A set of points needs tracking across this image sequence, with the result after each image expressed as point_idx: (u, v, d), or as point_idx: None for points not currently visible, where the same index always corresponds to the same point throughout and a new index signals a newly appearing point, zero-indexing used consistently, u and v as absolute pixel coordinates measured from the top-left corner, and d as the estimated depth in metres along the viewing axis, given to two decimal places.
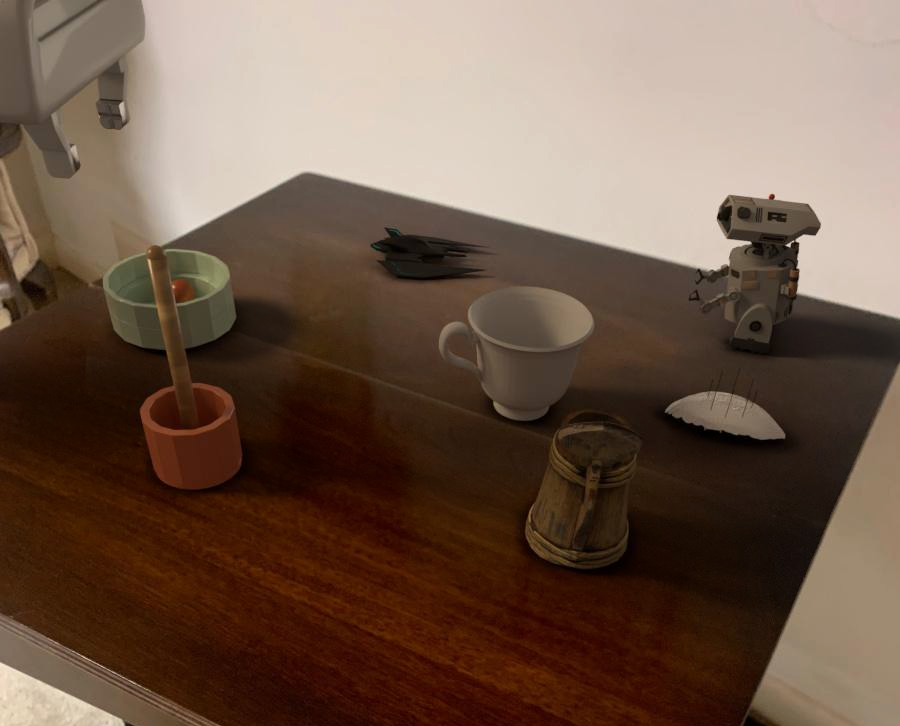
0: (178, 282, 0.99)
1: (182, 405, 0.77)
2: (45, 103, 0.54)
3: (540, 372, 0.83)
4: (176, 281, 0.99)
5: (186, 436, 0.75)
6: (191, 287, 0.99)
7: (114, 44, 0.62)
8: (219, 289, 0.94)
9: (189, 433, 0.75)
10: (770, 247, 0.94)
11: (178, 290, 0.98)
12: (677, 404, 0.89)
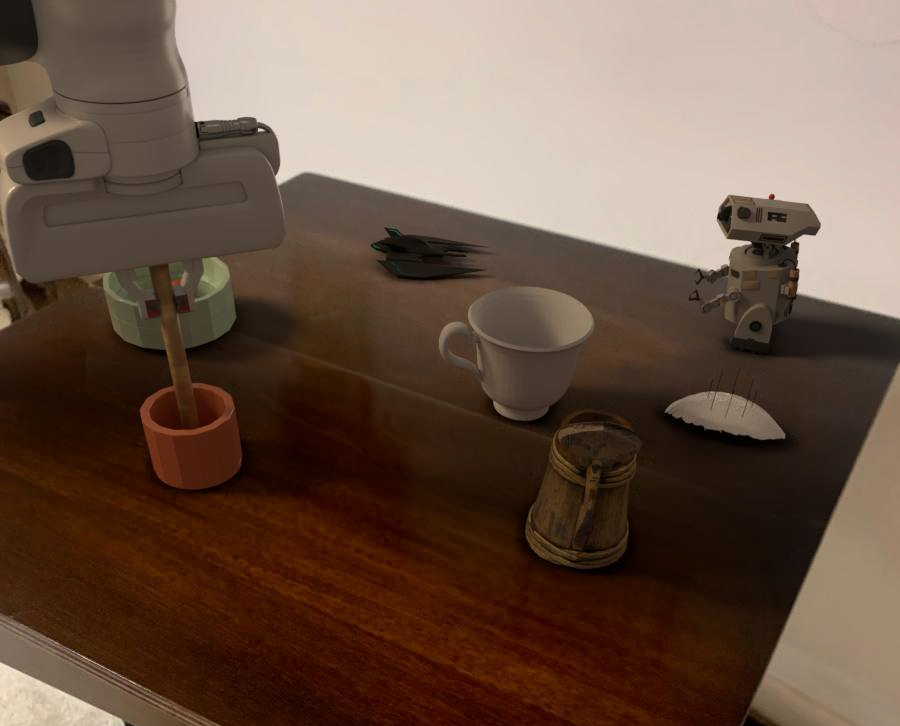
0: (178, 282, 0.99)
1: (182, 405, 0.77)
2: (41, 271, 0.64)
3: (540, 372, 0.83)
4: (176, 281, 0.99)
5: (186, 436, 0.75)
6: None
7: (201, 244, 0.67)
8: (219, 289, 0.94)
9: (189, 433, 0.75)
10: (770, 247, 0.94)
11: None
12: (677, 404, 0.89)
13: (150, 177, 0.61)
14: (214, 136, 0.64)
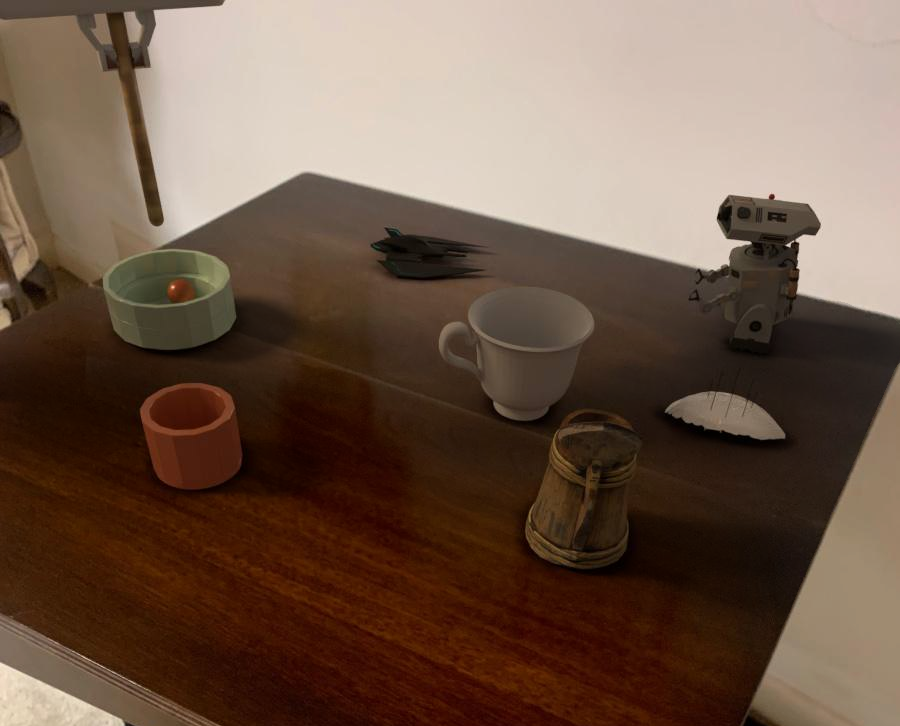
0: (178, 282, 0.99)
1: (142, 166, 0.86)
2: (11, 7, 0.73)
3: (540, 372, 0.83)
4: (176, 281, 0.99)
5: (186, 436, 0.75)
6: (191, 287, 0.99)
7: None
8: (219, 289, 0.94)
9: (189, 433, 0.75)
10: (770, 247, 0.94)
11: (178, 290, 0.98)
12: (677, 404, 0.89)
13: None
14: None
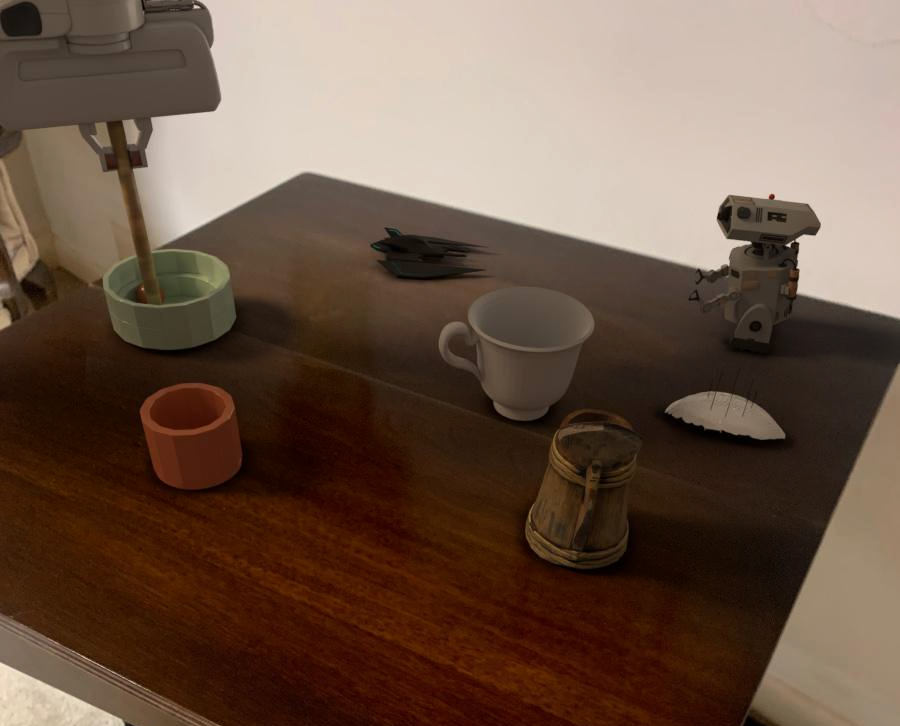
0: None
1: (141, 258, 0.91)
2: (17, 120, 0.78)
3: (540, 372, 0.83)
4: None
5: (186, 436, 0.75)
6: (137, 294, 0.98)
7: (149, 104, 0.82)
8: (219, 289, 0.94)
9: (189, 433, 0.75)
10: (770, 247, 0.94)
11: None
12: (677, 404, 0.89)
13: (104, 39, 0.76)
14: (157, 9, 0.78)
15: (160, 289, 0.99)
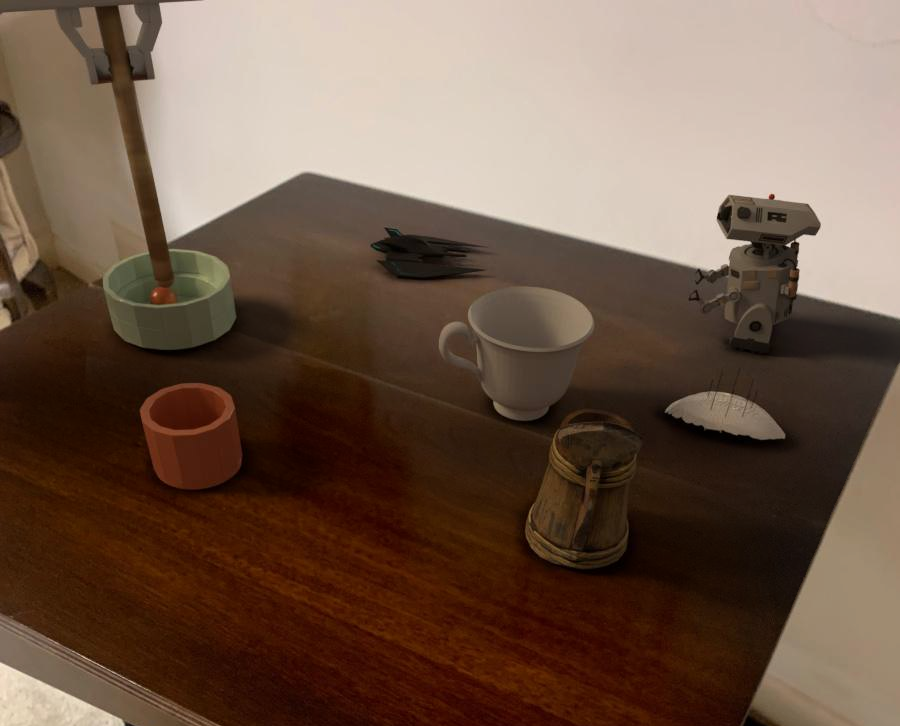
0: None
1: (146, 210, 0.66)
2: None
3: (540, 372, 0.83)
4: None
5: (186, 436, 0.75)
6: (156, 298, 0.97)
7: None
8: (219, 289, 0.94)
9: (189, 433, 0.75)
10: (770, 247, 0.94)
11: None
12: (677, 404, 0.89)
13: None
14: None
15: None
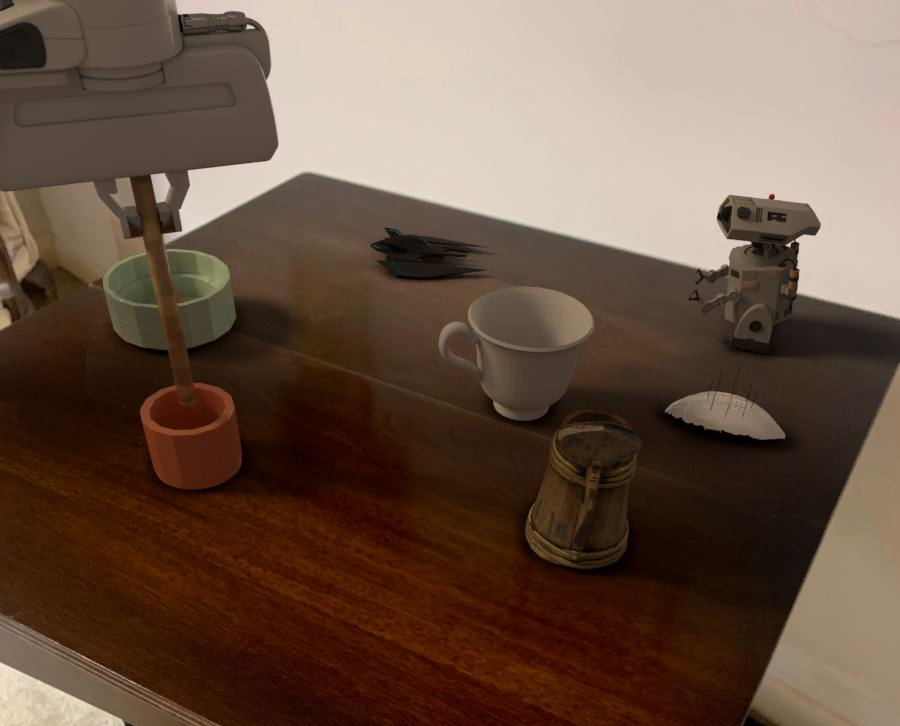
0: None
1: (172, 342, 0.72)
2: (13, 177, 0.59)
3: (540, 372, 0.83)
4: None
5: (186, 436, 0.75)
6: None
7: (187, 153, 0.62)
8: (219, 289, 0.94)
9: (189, 433, 0.75)
10: (770, 247, 0.94)
11: None
12: (677, 404, 0.89)
13: (129, 71, 0.56)
14: (199, 31, 0.59)
15: None
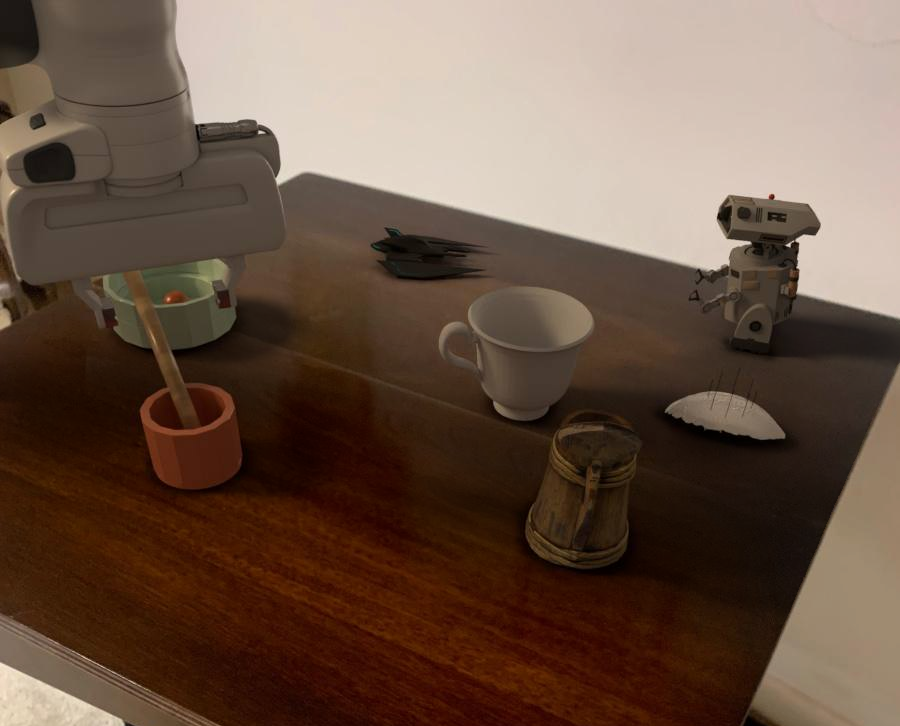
0: (168, 299, 0.97)
1: (176, 393, 0.78)
2: (42, 273, 0.64)
3: (540, 372, 0.83)
4: (170, 296, 0.97)
5: (186, 436, 0.75)
6: None
7: (202, 246, 0.67)
8: None
9: (189, 433, 0.75)
10: (770, 247, 0.94)
11: (163, 304, 0.97)
12: (677, 404, 0.89)
13: (151, 179, 0.61)
14: (214, 138, 0.64)
15: None
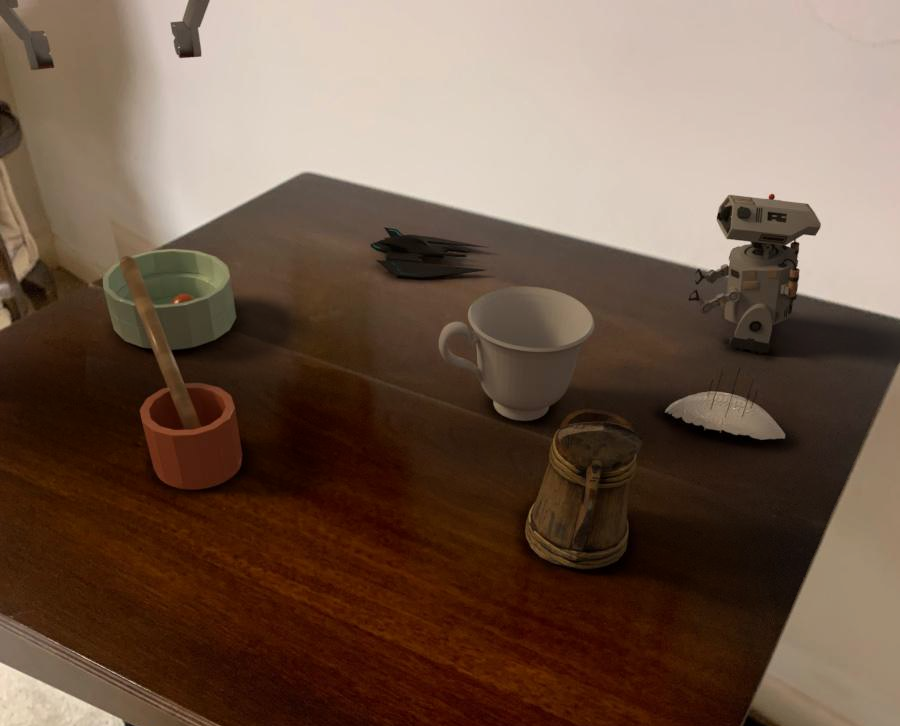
0: None
1: (176, 393, 0.78)
2: None
3: (540, 372, 0.83)
4: None
5: (186, 436, 0.75)
6: None
7: None
8: (219, 289, 0.94)
9: (189, 433, 0.75)
10: (770, 247, 0.94)
11: None
12: (677, 404, 0.89)
13: None
14: None
15: None
